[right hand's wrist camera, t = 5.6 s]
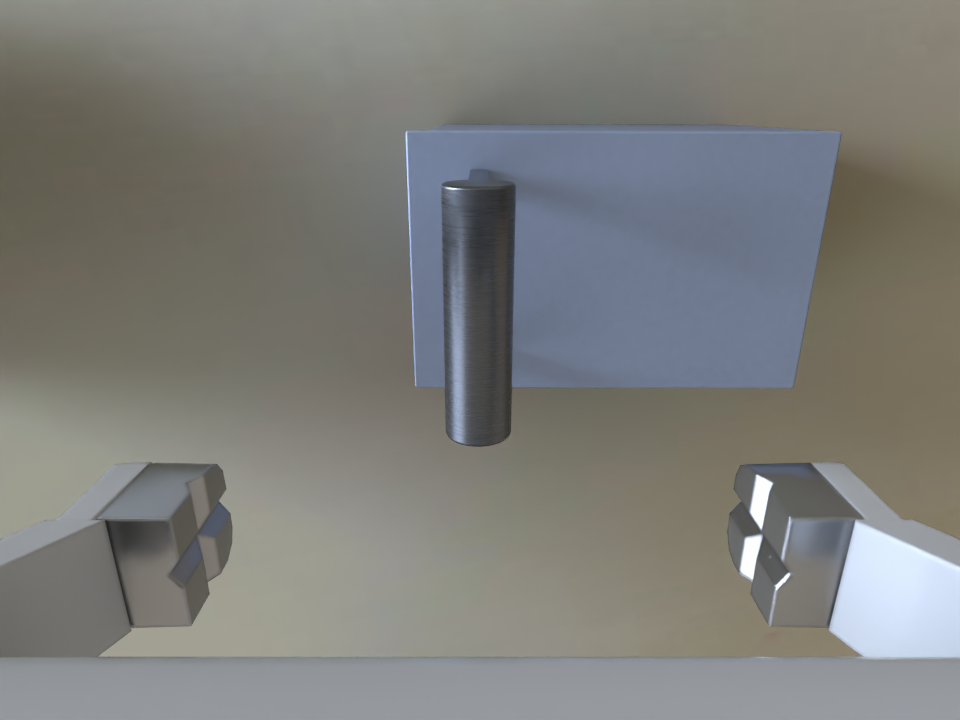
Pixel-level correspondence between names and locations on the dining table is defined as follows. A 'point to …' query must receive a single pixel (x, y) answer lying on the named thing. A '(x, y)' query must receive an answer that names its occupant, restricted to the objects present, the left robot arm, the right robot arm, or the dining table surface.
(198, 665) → the right robot arm
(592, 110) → the dining table surface
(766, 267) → the lid
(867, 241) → the dining table surface
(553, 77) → the dining table surface
